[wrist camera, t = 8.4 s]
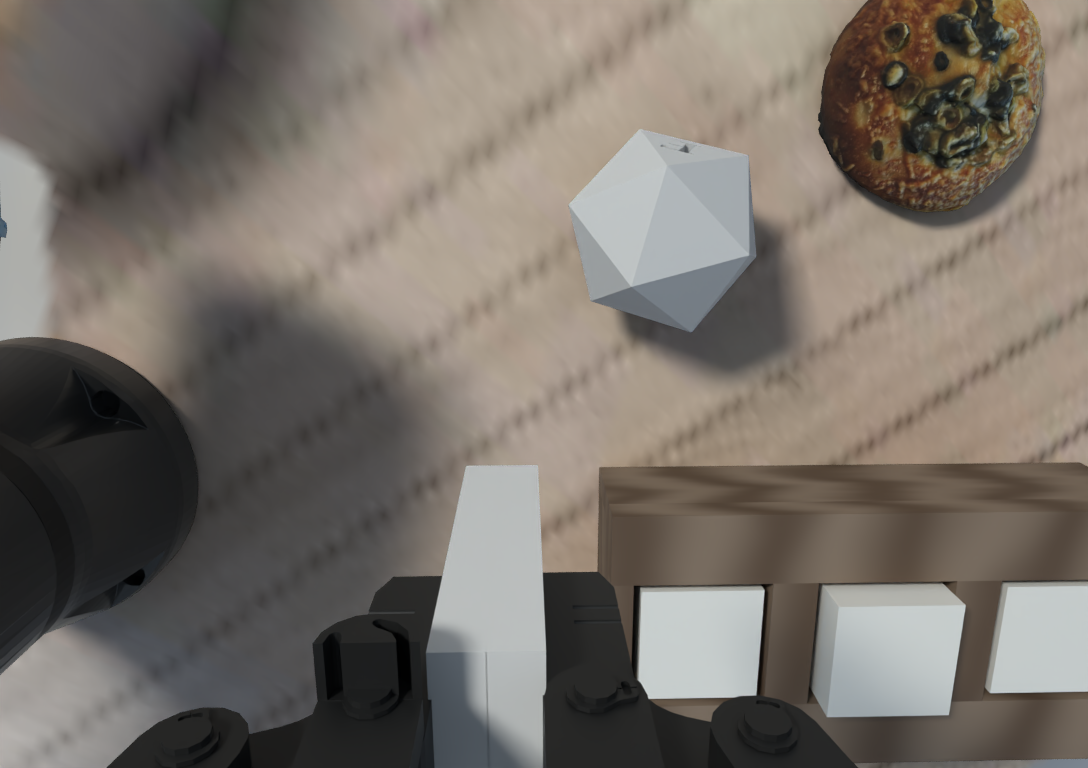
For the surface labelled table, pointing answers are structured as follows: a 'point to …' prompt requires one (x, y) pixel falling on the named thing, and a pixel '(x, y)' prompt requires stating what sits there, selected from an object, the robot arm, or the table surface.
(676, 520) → the button box
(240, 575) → the table surface
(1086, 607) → the outer button
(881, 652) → the middle button
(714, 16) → the table surface
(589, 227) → the die
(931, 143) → the bread roll
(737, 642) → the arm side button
